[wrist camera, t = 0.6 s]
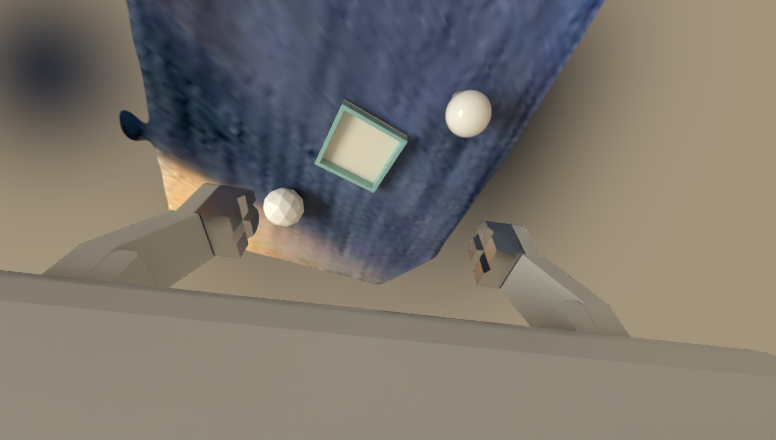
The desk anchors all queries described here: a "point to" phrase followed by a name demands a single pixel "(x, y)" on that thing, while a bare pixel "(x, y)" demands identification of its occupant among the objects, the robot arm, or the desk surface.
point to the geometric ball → (283, 207)
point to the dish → (360, 147)
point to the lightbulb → (468, 113)
